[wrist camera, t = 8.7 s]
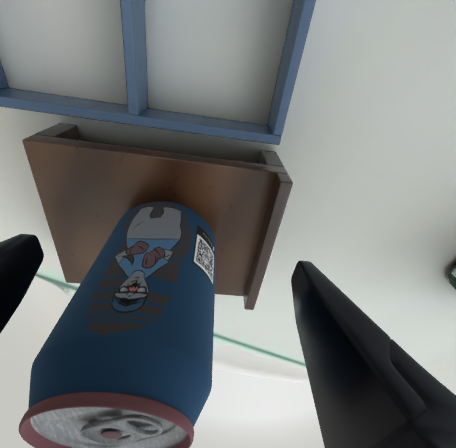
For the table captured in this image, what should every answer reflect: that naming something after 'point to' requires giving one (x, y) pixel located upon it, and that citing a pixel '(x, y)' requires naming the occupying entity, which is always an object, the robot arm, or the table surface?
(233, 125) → the blue rack
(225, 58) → the table surface
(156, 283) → the soda can
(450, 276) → the coffee jar
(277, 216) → the shelf
